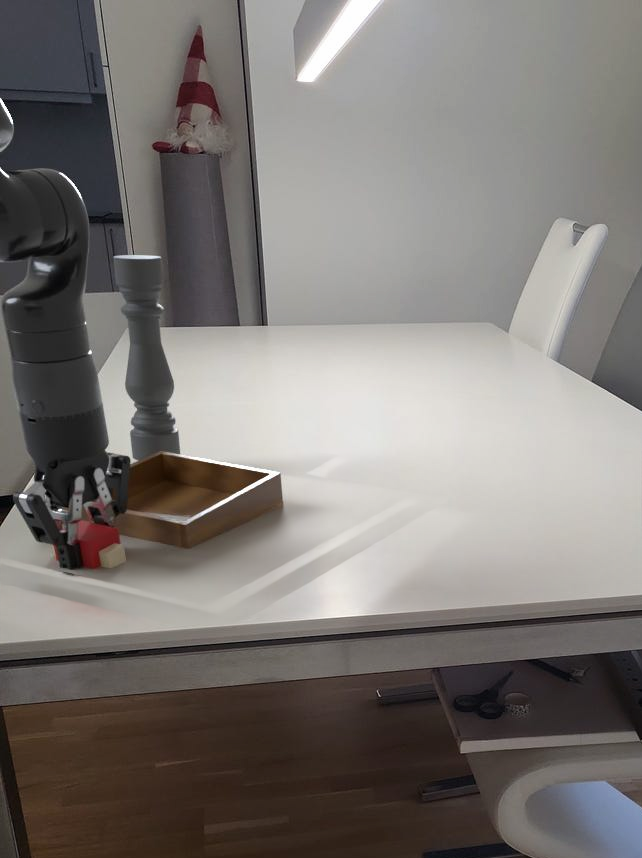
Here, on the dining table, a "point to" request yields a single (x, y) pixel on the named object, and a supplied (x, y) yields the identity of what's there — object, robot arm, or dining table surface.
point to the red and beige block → (98, 545)
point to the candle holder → (146, 356)
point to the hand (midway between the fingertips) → (90, 566)
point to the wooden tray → (192, 498)
